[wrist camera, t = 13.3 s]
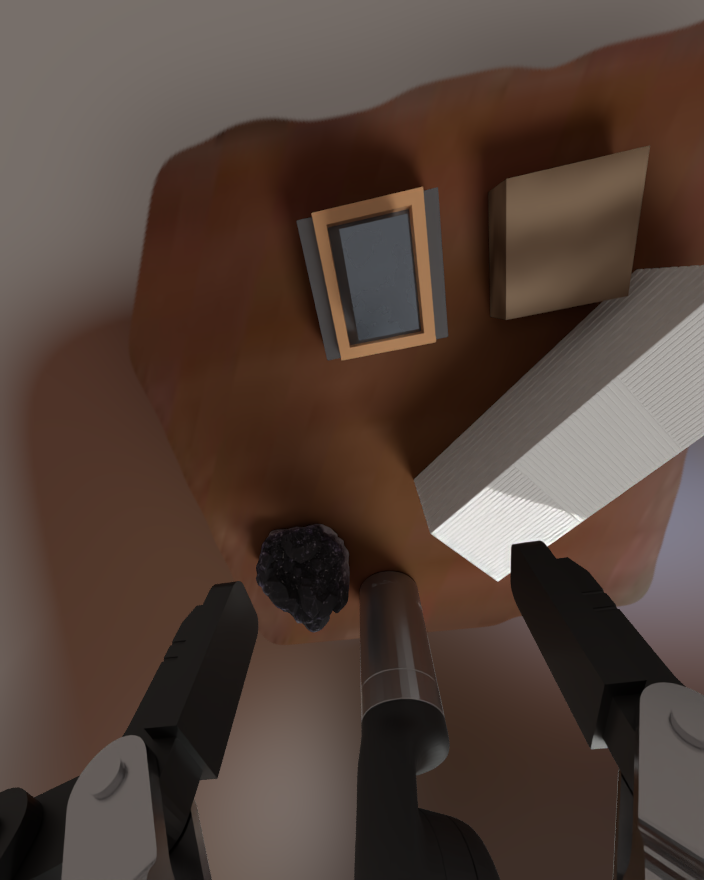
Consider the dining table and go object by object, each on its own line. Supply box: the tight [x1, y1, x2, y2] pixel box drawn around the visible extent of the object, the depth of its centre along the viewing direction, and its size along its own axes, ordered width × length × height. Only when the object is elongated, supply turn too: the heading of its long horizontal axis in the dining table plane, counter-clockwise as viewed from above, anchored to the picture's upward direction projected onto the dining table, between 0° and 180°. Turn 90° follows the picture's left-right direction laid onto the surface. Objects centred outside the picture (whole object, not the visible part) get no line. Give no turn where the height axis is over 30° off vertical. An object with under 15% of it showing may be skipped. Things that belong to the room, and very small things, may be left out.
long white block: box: [414, 265, 704, 581], centre depth 35 cm, size 32×11×11 cm, turn 140°
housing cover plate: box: [339, 214, 419, 341], centre depth 26 cm, size 5×8×2 cm, turn 11°
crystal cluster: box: [256, 524, 350, 632], centre depth 45 cm, size 14×14×10 cm
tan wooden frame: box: [297, 187, 448, 360], centre depth 31 cm, size 12×12×6 cm
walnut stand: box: [488, 146, 650, 320], centre depth 30 cm, size 11×11×4 cm
